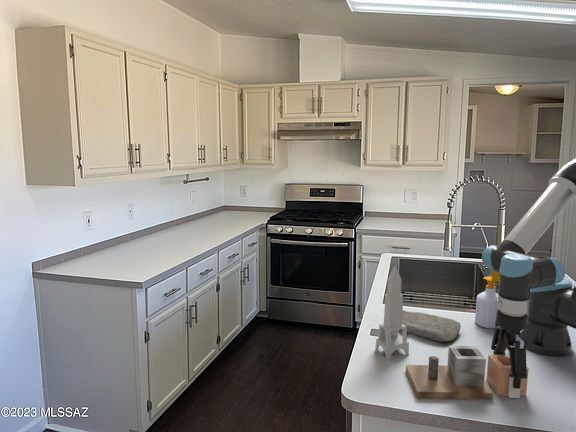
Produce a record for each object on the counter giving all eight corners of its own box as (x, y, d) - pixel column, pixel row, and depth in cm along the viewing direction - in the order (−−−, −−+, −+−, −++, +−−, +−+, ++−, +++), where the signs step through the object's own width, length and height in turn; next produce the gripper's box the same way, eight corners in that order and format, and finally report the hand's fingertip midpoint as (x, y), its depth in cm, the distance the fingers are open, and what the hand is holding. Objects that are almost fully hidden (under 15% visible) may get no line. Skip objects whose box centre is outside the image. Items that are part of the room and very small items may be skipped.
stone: (463, 321, 158) (450, 336, 146) (463, 332, 158) (449, 348, 147) (396, 305, 173) (379, 317, 161) (396, 315, 174) (379, 328, 162)
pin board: (473, 372, 131) (475, 341, 129) (492, 399, 117) (495, 365, 116) (405, 370, 132) (407, 340, 130) (417, 398, 118) (418, 364, 117)
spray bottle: (489, 317, 170) (494, 256, 166) (506, 327, 161) (512, 263, 157) (469, 320, 168) (474, 258, 163) (486, 330, 159) (491, 265, 155)
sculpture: (375, 349, 146) (378, 262, 140) (396, 345, 149) (399, 259, 143) (386, 358, 139) (390, 268, 134) (408, 354, 142) (412, 265, 137)
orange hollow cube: (513, 380, 127) (515, 354, 125) (526, 395, 119) (528, 368, 118) (486, 380, 127) (488, 354, 125) (497, 395, 119) (499, 368, 118)
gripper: (482, 296, 130) (477, 366, 134) (516, 328, 108) (509, 410, 112) (508, 296, 130) (502, 366, 134) (547, 329, 108) (539, 411, 112)
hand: (505, 386), depth 123 cm, fingers open, 9 cm apart
